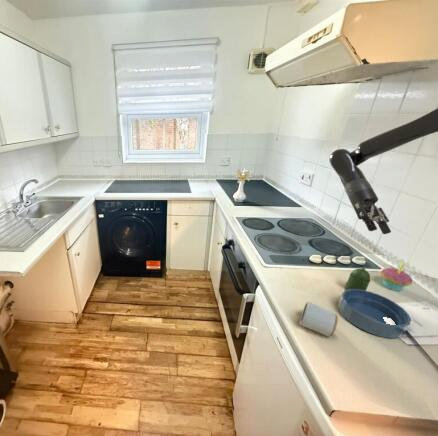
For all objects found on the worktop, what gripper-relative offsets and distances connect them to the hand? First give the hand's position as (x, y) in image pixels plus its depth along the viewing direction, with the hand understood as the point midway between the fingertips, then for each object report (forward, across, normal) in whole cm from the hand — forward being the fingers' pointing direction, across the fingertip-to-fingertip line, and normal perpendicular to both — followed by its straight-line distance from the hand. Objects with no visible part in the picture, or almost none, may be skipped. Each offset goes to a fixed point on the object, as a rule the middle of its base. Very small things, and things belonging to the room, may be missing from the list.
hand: (380, 231), depth 84 cm
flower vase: (-62, +24, +79) cm, 104 cm away
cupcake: (+16, +16, +11) cm, 26 cm away
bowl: (+27, -8, +10) cm, 30 cm away
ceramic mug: (+29, -27, +16) cm, 43 cm away
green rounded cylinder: (+18, +1, +16) cm, 24 cm away
